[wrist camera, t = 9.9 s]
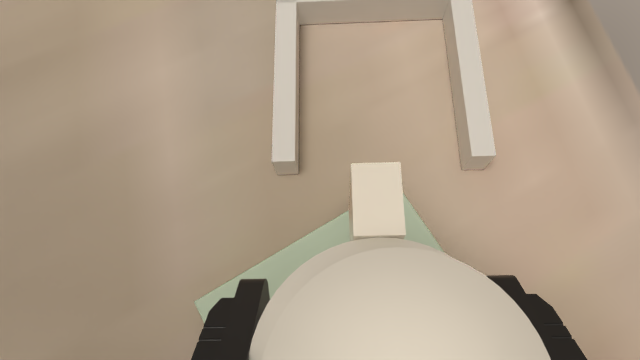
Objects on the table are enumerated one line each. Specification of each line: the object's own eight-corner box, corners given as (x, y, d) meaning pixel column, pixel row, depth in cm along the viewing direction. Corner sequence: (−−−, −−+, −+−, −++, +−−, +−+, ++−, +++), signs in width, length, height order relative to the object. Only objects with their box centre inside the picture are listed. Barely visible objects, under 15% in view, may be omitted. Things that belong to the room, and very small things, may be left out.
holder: (483, 169, 24) (496, 155, 22) (277, 174, 24) (271, 161, 22) (459, 2, 27) (468, -22, 25) (281, 10, 28) (276, -13, 26)
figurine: (455, 460, 15) (690, 724, 5) (287, 459, 16) (179, 708, 5) (433, 233, 18) (554, 100, 8) (291, 236, 18) (224, 110, 8)
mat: (197, 302, 22) (194, 301, 21) (394, 186, 24) (395, 182, 23) (316, 553, 18) (315, 560, 18) (539, 396, 20) (545, 398, 19)
